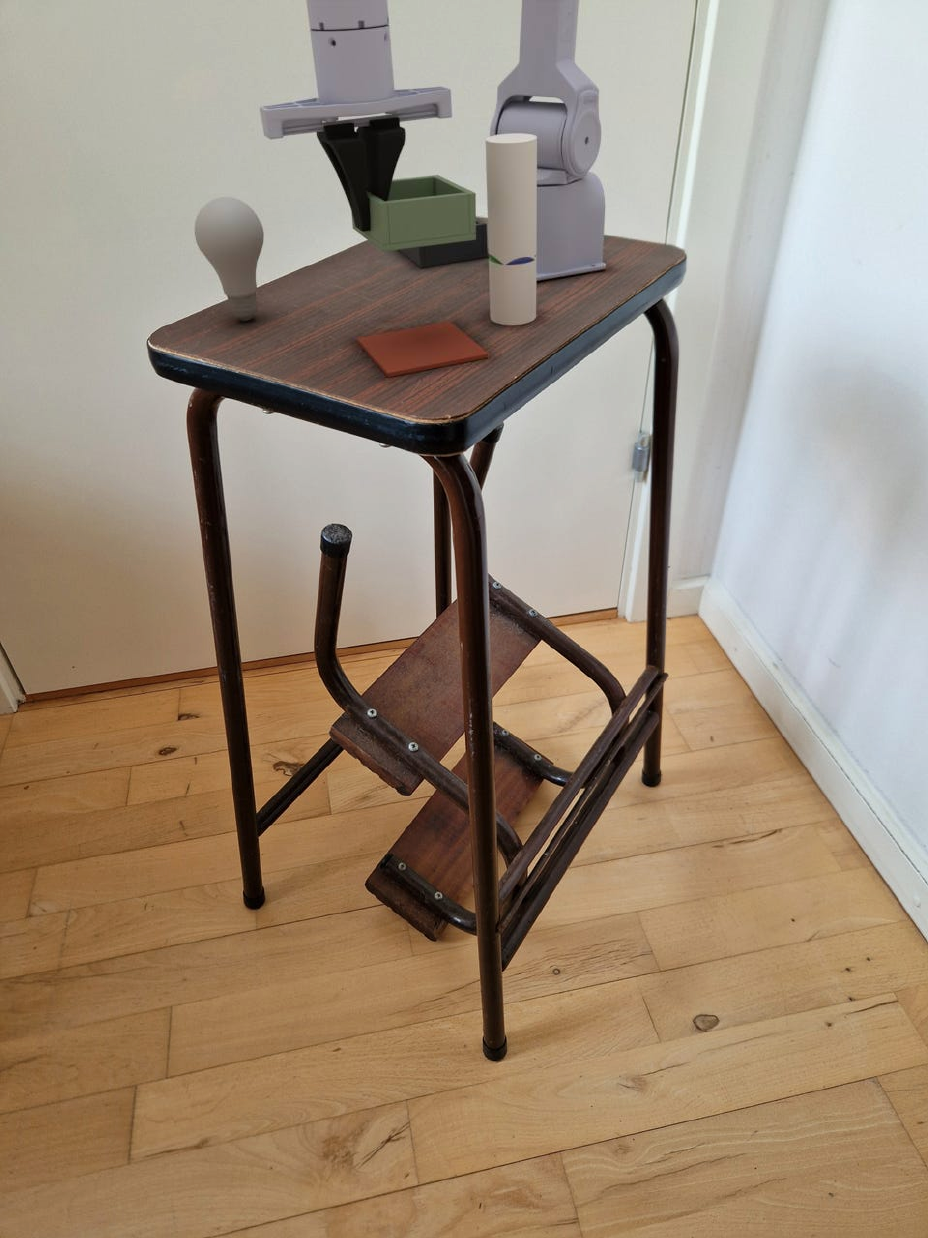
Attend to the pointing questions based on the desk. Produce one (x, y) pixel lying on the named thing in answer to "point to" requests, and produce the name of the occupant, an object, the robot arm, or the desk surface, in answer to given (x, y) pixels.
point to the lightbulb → (232, 250)
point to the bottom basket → (450, 250)
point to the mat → (421, 348)
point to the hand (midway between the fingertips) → (370, 227)
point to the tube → (512, 226)
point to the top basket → (421, 214)
